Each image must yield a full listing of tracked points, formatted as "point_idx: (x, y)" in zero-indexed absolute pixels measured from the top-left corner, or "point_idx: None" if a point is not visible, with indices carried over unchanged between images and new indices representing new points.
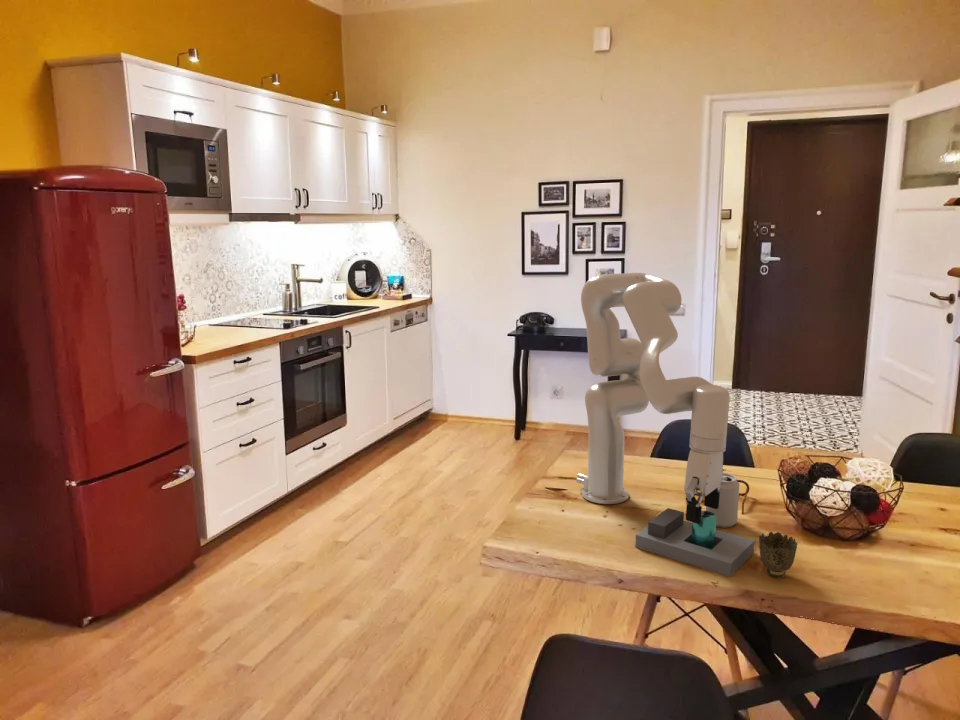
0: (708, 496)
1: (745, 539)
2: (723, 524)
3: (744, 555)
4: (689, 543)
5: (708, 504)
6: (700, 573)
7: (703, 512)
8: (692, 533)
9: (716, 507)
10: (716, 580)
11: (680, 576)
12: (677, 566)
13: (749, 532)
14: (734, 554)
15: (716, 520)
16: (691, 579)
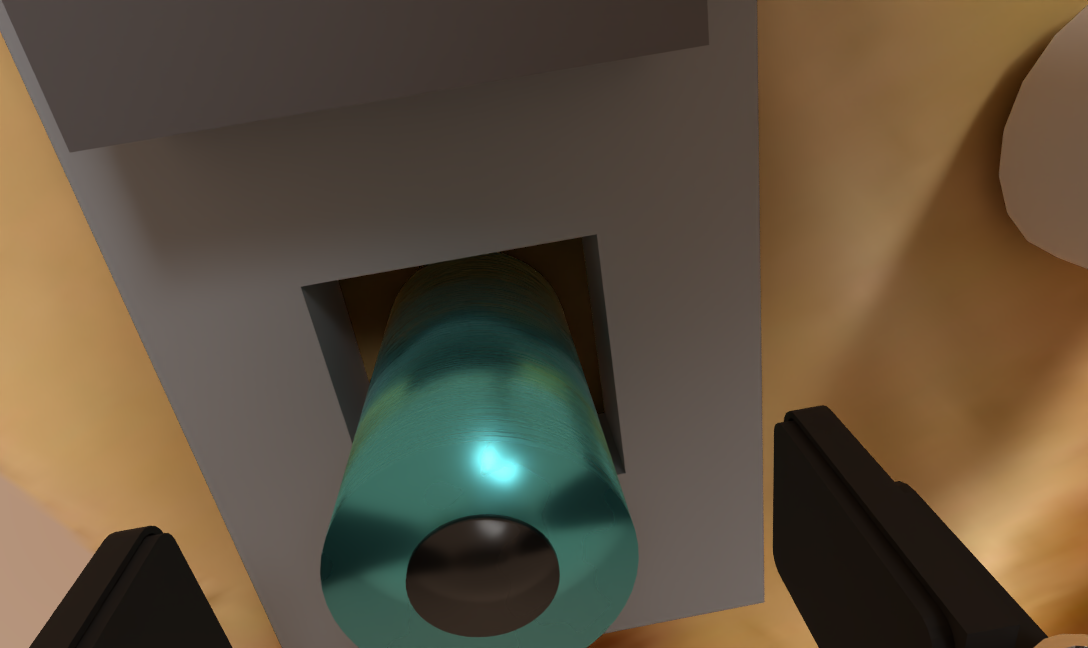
0: (859, 592)
1: (733, 564)
2: (1016, 216)
3: None
4: (312, 355)
5: (791, 490)
6: (194, 496)
7: (531, 542)
8: (382, 365)
9: (782, 576)
10: (215, 591)
11: (22, 445)
12: (117, 348)
13: (1023, 365)
14: None
15: (1031, 165)
16: (69, 507)
